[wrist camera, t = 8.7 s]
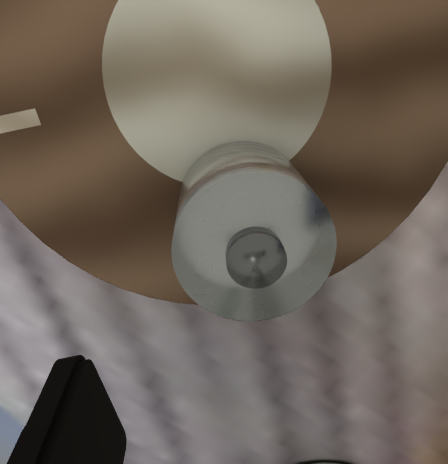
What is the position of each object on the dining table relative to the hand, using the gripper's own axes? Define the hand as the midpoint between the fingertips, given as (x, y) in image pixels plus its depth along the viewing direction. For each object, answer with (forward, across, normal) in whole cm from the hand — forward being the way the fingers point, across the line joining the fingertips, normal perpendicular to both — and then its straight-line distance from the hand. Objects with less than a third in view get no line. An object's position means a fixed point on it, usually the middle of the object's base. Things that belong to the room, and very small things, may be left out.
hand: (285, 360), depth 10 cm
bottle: (+13, 0, +1) cm, 13 cm away
